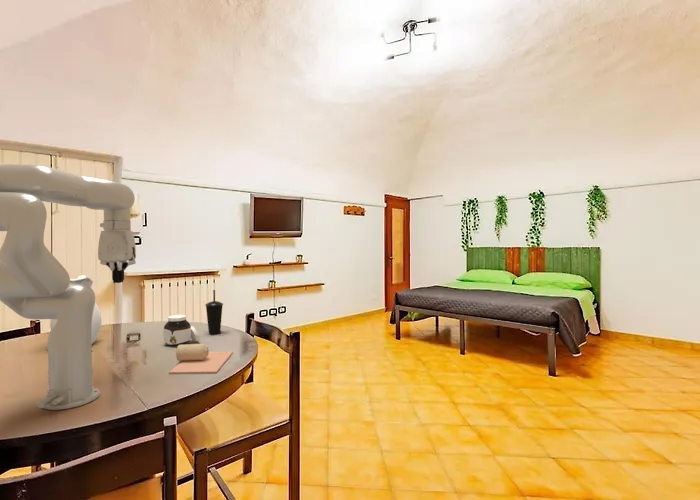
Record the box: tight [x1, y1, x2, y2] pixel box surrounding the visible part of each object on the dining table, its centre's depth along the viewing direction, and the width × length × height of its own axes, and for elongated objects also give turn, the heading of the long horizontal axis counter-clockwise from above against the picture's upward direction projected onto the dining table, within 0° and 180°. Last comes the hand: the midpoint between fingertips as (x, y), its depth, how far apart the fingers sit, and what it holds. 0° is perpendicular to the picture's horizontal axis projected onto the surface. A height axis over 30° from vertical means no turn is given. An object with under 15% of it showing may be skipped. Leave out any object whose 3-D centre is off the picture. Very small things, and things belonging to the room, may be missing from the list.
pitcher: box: [49, 274, 102, 344], centre depth 159 cm, size 24×17×28 cm
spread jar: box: [163, 314, 200, 348], centre depth 159 cm, size 12×11×12 cm
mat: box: [168, 350, 234, 375], centre depth 135 cm, size 22×15×1 cm
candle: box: [175, 343, 210, 362], centre depth 136 cm, size 6×6×10 cm
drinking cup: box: [205, 289, 224, 336], centre depth 175 cm, size 8×8×20 cm
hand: (118, 282), depth 126 cm, fingers closed
